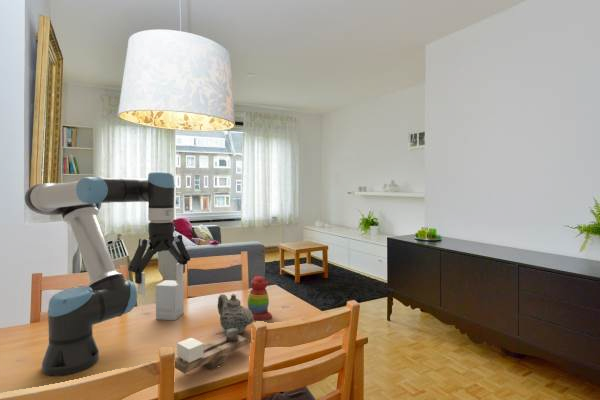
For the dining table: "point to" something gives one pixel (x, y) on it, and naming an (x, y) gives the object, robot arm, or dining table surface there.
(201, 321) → the dining table surface
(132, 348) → the dining table surface
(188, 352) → the rider
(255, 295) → the stacking bear
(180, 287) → the supplement box
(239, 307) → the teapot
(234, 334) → the beam
